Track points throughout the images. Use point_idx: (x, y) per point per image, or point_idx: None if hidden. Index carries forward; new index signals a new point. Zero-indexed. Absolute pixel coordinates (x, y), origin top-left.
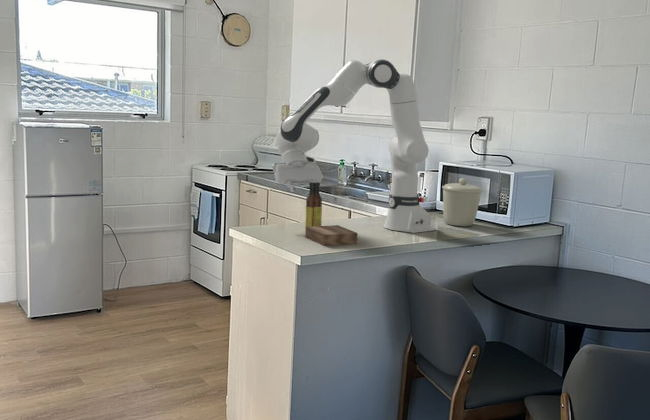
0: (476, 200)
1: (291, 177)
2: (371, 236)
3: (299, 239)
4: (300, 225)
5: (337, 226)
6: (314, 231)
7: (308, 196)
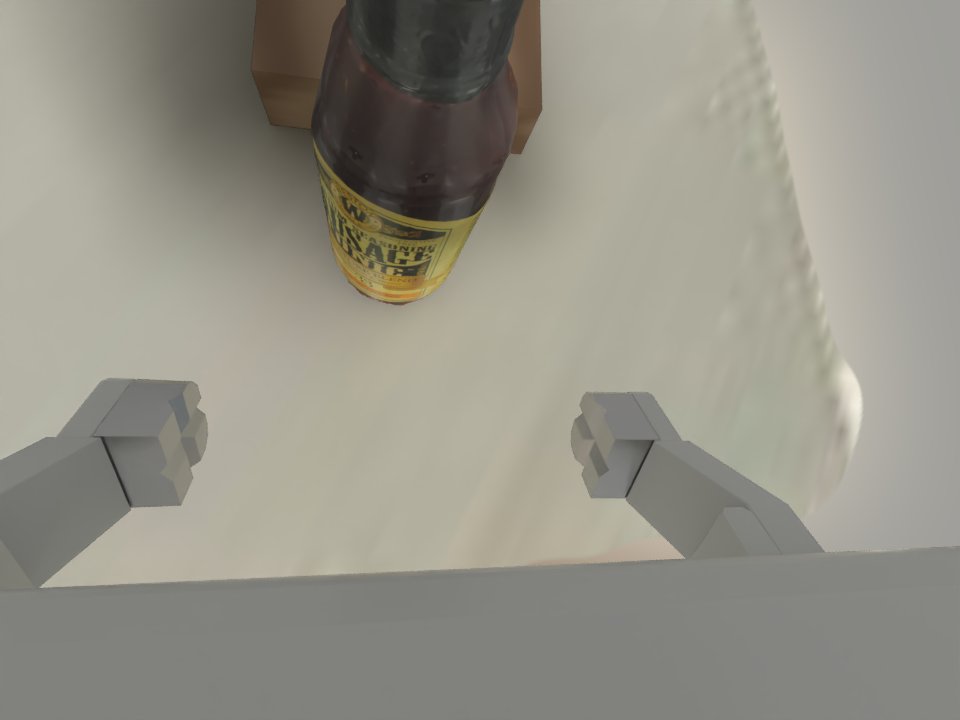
0: None
1: (785, 588)
2: (3, 10)
3: (581, 119)
4: (358, 502)
5: (286, 34)
6: (537, 5)
7: (505, 98)
